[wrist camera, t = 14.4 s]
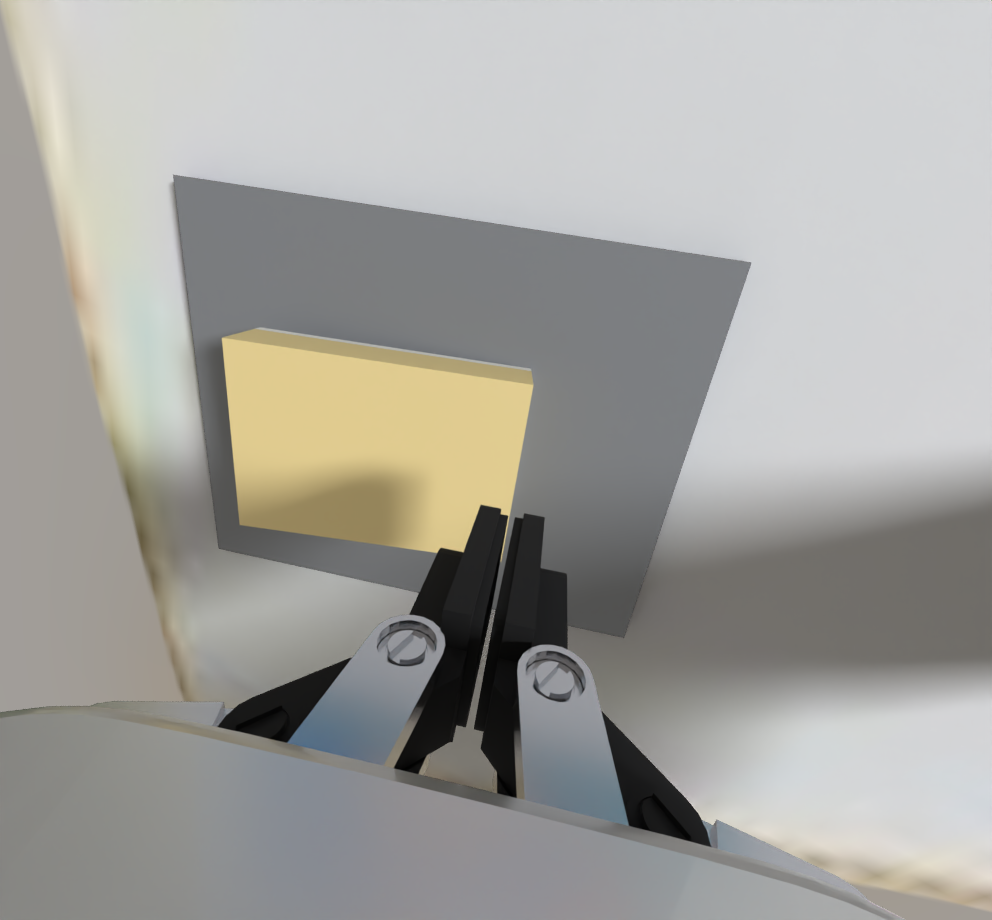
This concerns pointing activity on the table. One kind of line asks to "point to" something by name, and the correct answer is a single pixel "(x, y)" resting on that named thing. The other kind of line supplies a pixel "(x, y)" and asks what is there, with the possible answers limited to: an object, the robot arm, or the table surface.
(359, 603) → the table surface
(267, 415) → the tile
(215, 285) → the mat
